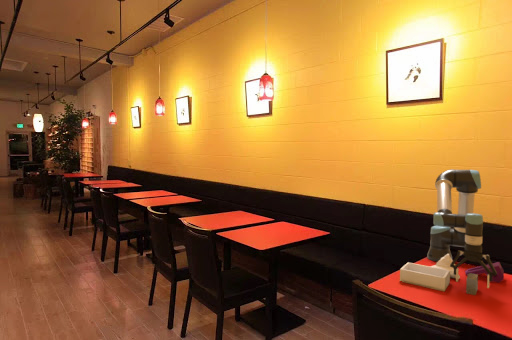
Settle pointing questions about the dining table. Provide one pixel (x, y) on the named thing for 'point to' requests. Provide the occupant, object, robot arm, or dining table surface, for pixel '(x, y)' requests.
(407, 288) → the dining table surface
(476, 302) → the dining table surface
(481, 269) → the mounting bracket
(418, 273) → the cream rectangular tray
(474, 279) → the brushed metal block
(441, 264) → the cream faceted chunk
